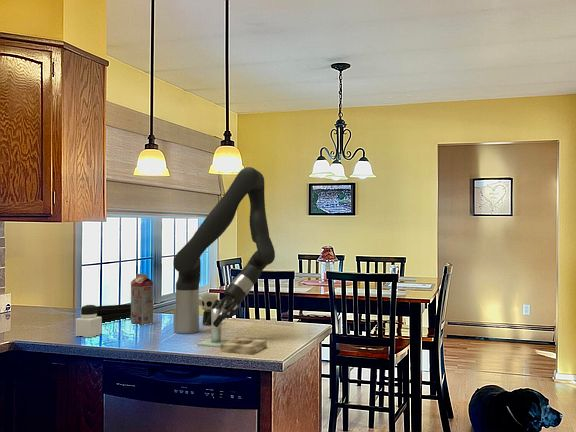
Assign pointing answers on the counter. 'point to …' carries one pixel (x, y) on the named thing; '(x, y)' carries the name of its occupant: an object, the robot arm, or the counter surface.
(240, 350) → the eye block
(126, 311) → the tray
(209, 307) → the big headed toy figurine
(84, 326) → the medicine bottle
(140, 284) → the juice carton
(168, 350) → the counter surface
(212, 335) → the peg
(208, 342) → the mat
